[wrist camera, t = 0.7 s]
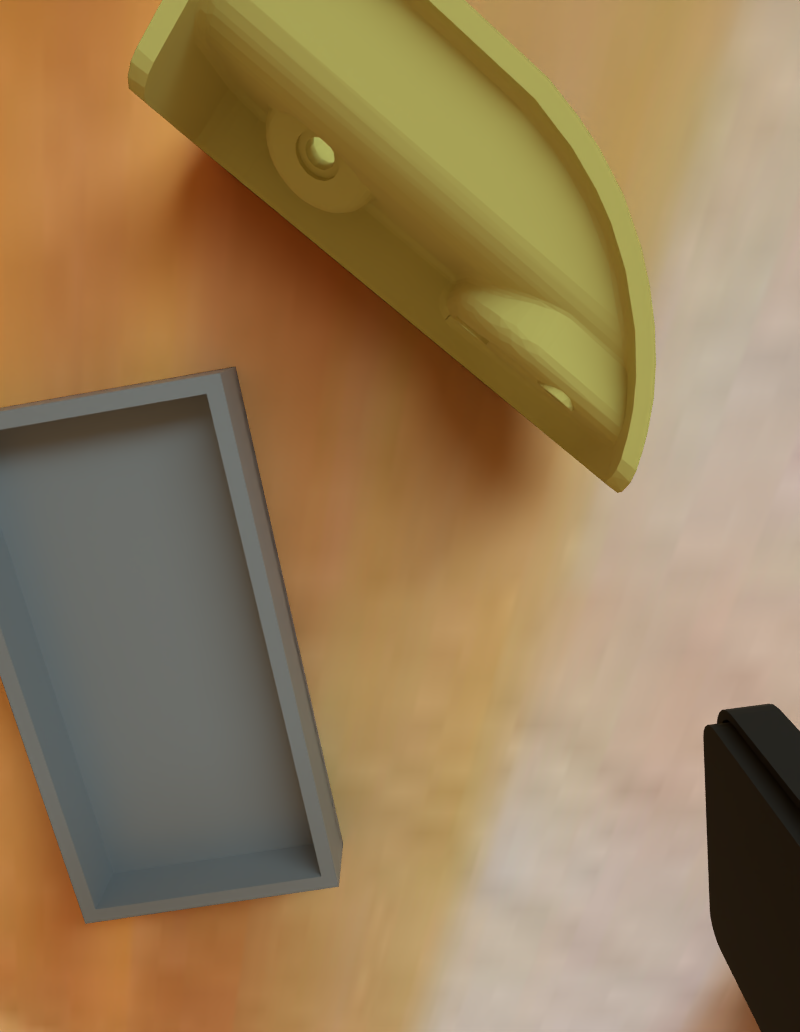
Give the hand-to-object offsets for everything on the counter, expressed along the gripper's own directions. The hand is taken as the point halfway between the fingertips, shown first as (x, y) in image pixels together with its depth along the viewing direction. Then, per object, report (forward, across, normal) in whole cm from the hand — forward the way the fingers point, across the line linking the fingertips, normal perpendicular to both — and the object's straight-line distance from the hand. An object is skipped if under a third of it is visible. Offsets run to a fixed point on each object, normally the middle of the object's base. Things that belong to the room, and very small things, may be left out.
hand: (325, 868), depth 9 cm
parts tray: (+26, +11, +8) cm, 29 cm away
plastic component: (+26, -4, -8) cm, 28 cm away
